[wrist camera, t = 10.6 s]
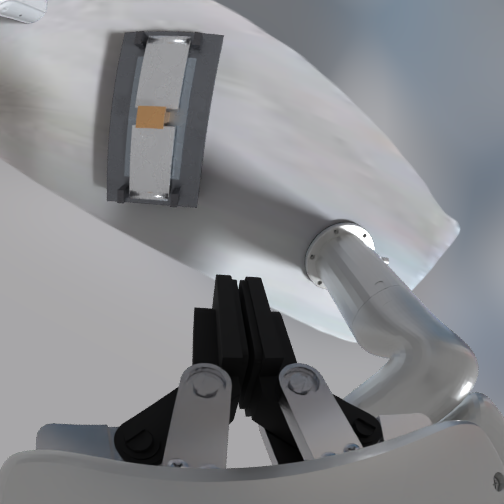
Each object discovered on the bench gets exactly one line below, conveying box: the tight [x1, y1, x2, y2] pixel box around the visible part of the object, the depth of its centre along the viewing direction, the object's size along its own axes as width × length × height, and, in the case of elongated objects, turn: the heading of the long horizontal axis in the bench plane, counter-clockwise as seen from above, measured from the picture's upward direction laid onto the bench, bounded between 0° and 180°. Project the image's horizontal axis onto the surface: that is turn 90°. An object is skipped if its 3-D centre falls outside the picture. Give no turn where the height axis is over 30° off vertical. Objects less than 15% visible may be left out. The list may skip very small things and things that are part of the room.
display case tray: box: [107, 31, 224, 208], centre depth 28 cm, size 12×22×8 cm, turn 170°
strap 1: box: [135, 36, 191, 109], centre depth 25 cm, size 9×5×1 cm, turn 170°
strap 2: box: [129, 124, 176, 201], centre depth 30 cm, size 9×5×1 cm, turn 170°
